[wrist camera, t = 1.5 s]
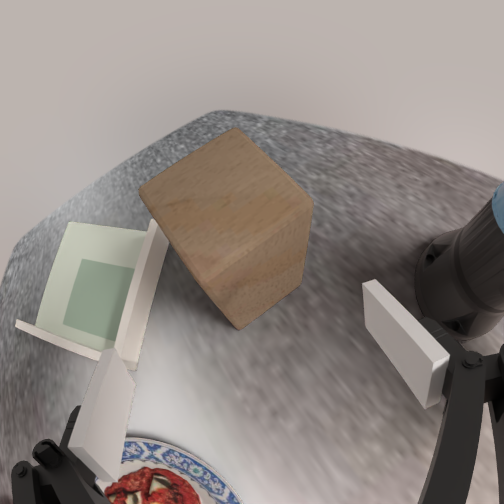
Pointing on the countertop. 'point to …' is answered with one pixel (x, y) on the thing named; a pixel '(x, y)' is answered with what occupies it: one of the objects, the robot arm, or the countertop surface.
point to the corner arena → (101, 290)
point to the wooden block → (234, 224)
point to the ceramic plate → (165, 477)
